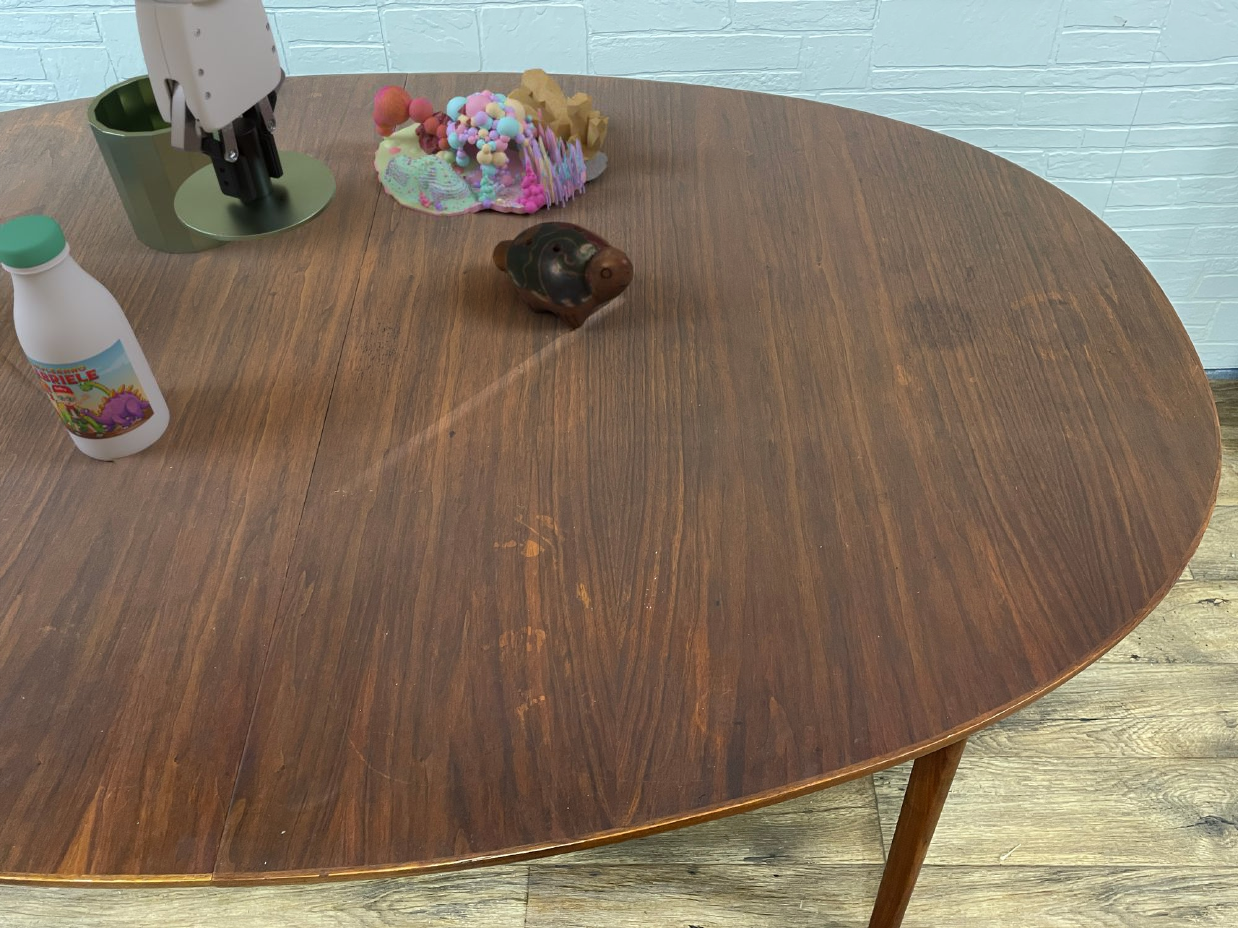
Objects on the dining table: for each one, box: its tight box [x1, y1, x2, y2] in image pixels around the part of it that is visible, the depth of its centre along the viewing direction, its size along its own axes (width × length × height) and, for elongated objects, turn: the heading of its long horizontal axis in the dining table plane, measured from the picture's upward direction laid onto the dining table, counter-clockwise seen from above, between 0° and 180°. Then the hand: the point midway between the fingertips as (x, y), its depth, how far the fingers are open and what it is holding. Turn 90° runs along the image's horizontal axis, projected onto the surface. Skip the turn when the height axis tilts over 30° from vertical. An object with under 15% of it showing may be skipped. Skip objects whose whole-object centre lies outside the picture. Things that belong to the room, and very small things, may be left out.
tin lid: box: [174, 117, 337, 242], centre depth 87 cm, size 13×13×7 cm
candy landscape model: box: [372, 68, 610, 218], centre depth 112 cm, size 25×24×9 cm
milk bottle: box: [0, 214, 171, 462], centre depth 81 cm, size 8×8×20 cm
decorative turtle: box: [492, 221, 634, 330], centre depth 96 cm, size 10×15×8 cm, turn 63°
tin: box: [86, 73, 231, 254], centre depth 104 cm, size 12×12×14 cm
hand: (253, 183), depth 88 cm, fingers closed on tin lid, 3 cm apart
